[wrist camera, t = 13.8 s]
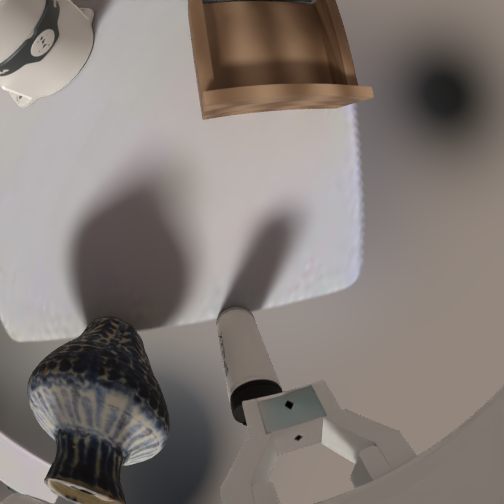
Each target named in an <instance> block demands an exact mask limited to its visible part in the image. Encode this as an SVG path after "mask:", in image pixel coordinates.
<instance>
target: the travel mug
mask: <svg viewBox="0 0 504 504" xmlns="http://www.w3.org/2000/svg"><path fill="white" fill-rule="evenodd" d="M216 324H217V331H218V337H219V344H220V350H221V356H222V362H223V368H224V374H225V379H226V385H227V390H228V396H229V401H230V404H231V409H232V413H233V416H234V418H235V420H236V421H238V422H240V423H243V425H246V426H247V423H246V418H245V414H244V410H243V406H242V401H247V400H252V399H256V398H261V397H265V396H270V395H274V394H278V393H282V388H281V386H280V383H279V380H278V378H277V375H276V373H275V370H274V368H273V365H272V363H271V360H270V358H269V355H268V353H267V350H266V347H265V345H264V342H263V340H262V337H261V335H260V332H259V330H258V327H257V324H256V322H255V319H254V316H253V315H252V313H251V312H250V311H249V310H248V309H246V308H243V307H231V308H228V309H226V310H224V311H223V312H222V313H221V314H220V315H219V316H218V319H217V323H216ZM256 400H257V399H256Z"/></svg>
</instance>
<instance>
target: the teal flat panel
mask: <svg viewBox="0 0 504 504" xmlns="http://www.w3.org/2000/svg"><path fill="white" fill-rule="evenodd" d="M204 1H214V0H202V2H204ZM296 1H306V2H311V1H312V0H296Z"/></svg>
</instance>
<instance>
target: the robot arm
mask: <svg viewBox="0 0 504 504" xmlns="http://www.w3.org/2000/svg"><path fill="white" fill-rule="evenodd" d="M93 17H94V11H93V10H92V9H90V8H78V7H77V6H76V5H75V4H74V3H73V2H72V1H71V0H0V88H3V89H4V90H7V91H8V92H9V94H10V95H11V96H12V98H13V99H14V100H15V101H16V103H17V104H18V105H19V106H20V107H22V108H26V107H27V106H29V105H30V104H31V103H33V102H34V101H35V100H36V99H38V98H41V97H45V96H48V95H51V94H53V93H55V92H57V91H58V90H60V89H61V88H63V87H64V86H65V85H67V84H68V83H69V82H70V81H71V80H72V79H73V78H74V77H75V76H76V75H77V74H78V72H79V71H80V70H81V68H82V67H83V65H84V64H85V62H86V60H87V59H88V57H89V54H90V52H91V49H92V45H93V31H92V26H91V24H92V21H93ZM21 97H22V98H21ZM256 399H257V400H256ZM256 399H252V400H247V401H242V406H243V410H244V414H245V418H246V423H247V427H248V431H249V435H250V438H247V439H246V440H245V442H244V444H243V446H242V448H241V450H240V452H239V454H238V456H237V458H236V460H235V462H234V464H233V465H232V467H231V469H230V471H229V473H228V475H227V477H226V479H225V480H224V482H223V484H222V486H221V488H220V493H221V499H222V504H280V501H279V498H278V496H277V493H276V490H275V486H274V484H273V483H271V482H268V481H269V478H270V475H271V472H272V470H273V466H274V464H275V461H276V458H277V455H280V454H284V453H287V452H291V451H294V450H297V449H300V448H304V447H307V446H311V445H314V444H317V443H320V442H321V443H322V444H324V445H325V446H327V447H329V448H330V449H332V450H333V451H335V452H336V453H338V454H340V455H341V456H343V457H345V458H347V459H348V460H350V461H352V462H353V463H355V467H354V469H353V471H352V474H351V476H350V481H351V483H352V485H353V487H354V489H353V490H350V491H348V492H345V493H343V494H340V495H338V496H335V497H332V498H330V499H327V500H324V501H321V502H318V503H315V504H504V385H503V387H501V388H500V390H499V391H498V392H497V393H496V394H495V395H494V396H493V397H492V398H490V400H488V401H487V403H485V404H484V405H483V406H482V407H481V408H480V409H479V410H478V411H476V412H475V413H474V414H473V415H472V416H471V417H470V418H468V419H467V420H466V421H465V422H464V423H463V424H461V425H460V426H459V427H457V428H456V429H455V430H454V431H452V432H451V433H450V434H448V435H447V436H446V437H444V438H443V439H442V440H440V441H439V442H437V443H436V444H434V445H433V446H432V447H430V448H429V449H427V450H426V451H424V452H423V453H421V454H420V455H418V456H417V455H416V454H415V453H414V451H413V450H412V448H411V447H410V445H409V444H408V443H407V441H406V440H405V438H404V437H403V436H402V434H401V433H400V431H398V430H396V429H393V428H390V427H388V426H385V425H383V424H380V423H377V422H375V421H373V420H370V419H368V418H366V417H363V416H361V415H359V414H356V413H354V412H352V411H350V410H347V409H344V410H342V409H341V408H340V406H339V404H338V403H337V401H336V399H335V398H334V396H333V394H332V392H331V391H330V389H329V387H328V386H327V384H326V382H325V381H324V380H320V381H317V382H314V383H311V384H307V385H303V386H300V387H297V388H294V389H291V390H287V391H284V392H282V393H278V394H274V395H270V396H265V397H261V398H256ZM0 504H47V503H44V502H41V501H38V500H36V499H33V498H31V497H28V496H26V495H24V494H20V493H14V494H12V495H10V496H9V497H7V498H6V499H5V500H3V501H2V502H1V503H0Z"/></svg>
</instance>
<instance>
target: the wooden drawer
mask: <svg viewBox="0 0 504 504" xmlns="http://www.w3.org/2000/svg"><path fill="white" fill-rule="evenodd" d="M188 16H189V24H190V32H191V40H192V48H193V56H194V63H195V70H196V77H197V84H198V91H199V98H200V105H201V111H202V118H203V120H204V119H210V118H216V117H223V116H230V115H237V114H245V113H254V112H264V111H276V110H292V109H320V108H339V107H342V106H346V105H349V104H352V103H356V102H359V101H363V100H367V99H370V98H373V97H374V96H373V91H372V87H365V86H358V83H357V79H356V74H355V69H354V64H353V60H352V56H351V52H350V48H349V44H348V40H347V37H346V33H345V30H344V26H343V23H342V19H341V16H340V13H339V10H338V7H337V4H336V1H335V0H317V1H316V2H315V3H314V4H304V3H293V2H278V1H235V2H219V3H208V4H203V2H202V0H188Z"/></svg>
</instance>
